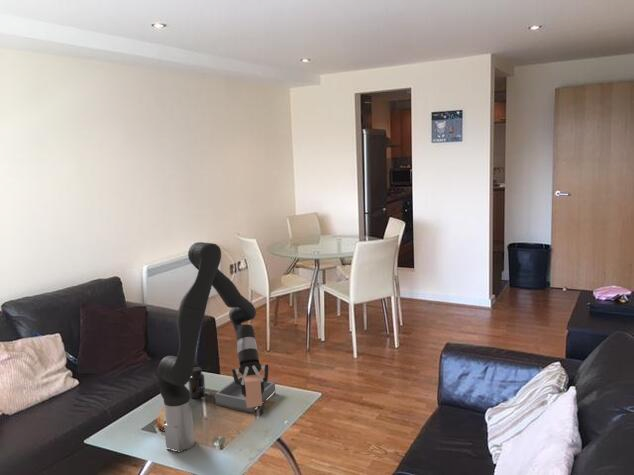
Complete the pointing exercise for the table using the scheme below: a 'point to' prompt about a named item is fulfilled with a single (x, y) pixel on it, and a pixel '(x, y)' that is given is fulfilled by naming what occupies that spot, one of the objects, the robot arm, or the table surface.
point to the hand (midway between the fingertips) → (253, 394)
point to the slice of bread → (161, 419)
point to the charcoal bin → (239, 396)
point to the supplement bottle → (197, 383)
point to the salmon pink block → (253, 391)
